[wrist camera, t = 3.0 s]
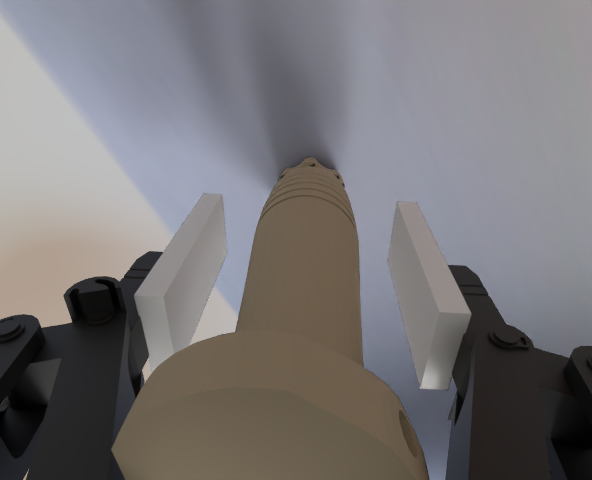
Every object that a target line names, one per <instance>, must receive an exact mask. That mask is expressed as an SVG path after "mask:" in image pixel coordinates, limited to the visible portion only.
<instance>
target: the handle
mask: <svg viewBox="0 0 592 480" xmlns="http://www.w3.org/2000/svg"><path fill="white" fill-rule="evenodd" d="M344 188H345V186H344V182H343V180H342V177H341V176H340V174H339V173H338V171H337V170H335V169H333V170H331V169H328V168H326V167H324V166H322V165H321V164H319V163H318V162H317V161H316V159H315V158H305V159H304V161H303V162H302V163H301V164H299V165H298V166H295V167H292V168H286V169H285V170H284V171H283V172H282V174H281V176H280V177H279V179H278V183H277V184H276V186H275V187H274V189H273V190H272V192H271V194H270V195H269V197H268V199H267V201H266V203H265V205H264V207H263V210H262V213H261V216H260V219H259V222H258V225H257V228H256V231H255V236H254V241H253V246H252V252H251V257H250V262H249V267H248V273H247V278H246V283H245V288H244V293H243V298H242V302H241V307H240V312H239V316H238V321H237V326H236V331H235V332H234V333H227V334H222V335H218V336H216V337H212V338H209V339H206V340H203V341H200V342H196V343H194V344H192V345H190V346H188V347H186V348H184V349H182V350H180V351H178V352H176V353H174V354H173V355H172V356H170V357H169V358H168V359H166V360H165V361H164V362H162V363H161V364H160V365H158V366H157V368H156V369H155V370H154V371H153V373H152V374H151V375H150V377H149V378H148V380H147V381H146V382H145V384H144V385H143V387H142V388H141V390H140V392H139V394H138V396H137V398H136V400H135V401H134V403H133V405H132V407H131V409H130V411H129V413H128V415H127V417H126V419H125V421H124V423H123V425H122V427H121V429H120V431H119V433H118V436H117V438H116V440H115V442H114V444H113V446H112V449H111V450H112V452H113V455H114V457H115V459H116V461H117V463H118V465H119V467H120V469H121V472H122V474H123V476H124V478H125V480H430V479H429V475H428V470H427V466H426V462H425V457H424V453H423V450H422V448H421V445H420V443H419V441H418V439H417V436H416V434H415V432H414V429H413V427H412V425H411V423H410V421H409V419H408V416H407V414H406V412H405V410H404V408H403V406H402V404H401V401H400V399H399V397H398V396H397V395H396V394H395V393H394V392H393V391H392V389H391V388H390V387H389V386H388V385H387V384H386V383H385V382H383V381H382V380H381V379H380V378H378V377H377V376H376V375H374V374H373V373H372V372H370V371H368V370H367V369H365V368H364V365H363V352H362V329H361V306H360V271H359V241H358V235H357V229H356V223H355V219H354V215H353V211H352V207H351V204H350V200H349V198H348V195H347V193H346V191H345V189H344Z"/></svg>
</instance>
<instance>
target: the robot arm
mask: <svg viewBox="0 0 592 480" xmlns="http://www.w3.org/2000/svg"><path fill="white" fill-rule="evenodd" d="M226 255H227V244H226V232H225V219H224V207H223V195H222V194H207V193H203V195H202V196H201V198H200V199H199V201H198V202H197V204H196V205H195V207H194V208H193V210H192V211H191V212H190V214H189V215H188V217H187V218H186V220H185V221H184V223H183V224H182V226H181V227H180V229H179V230H178V232H177V233H176V234H175V236H174V237H173V239H172V240H171V242H170V243H169V245H168V246H167V248H166V249H165V251H164V252H153V251H149V252H147V253H146V254H144V255H143V256H141V257H140V258H138V259H137V260H136V261H135V263H134V264H133V265H132V266H131V268H130V270H128V272H127V273H126V274H125V276H124V278H122V279H121V281H120V282H119V281H118V280H116V279H115V278H111V277H106V276H104V277H93V278H89V279H85V280H83V281H80V282H78V283H76V284H74V285H73V286H72V287H71V288H69V289H68V290H67V291H66V293H65V294H64V299H65V302H66V304H67V307H68V310H69V313H70V316H71V319H72V323H68V324H63V325H57V326H50V327H44V328H41V326H40V323H39V321H38V319H37V318H35V317H34V316H32V315H24V314H23V315H15V316H10V317H7V318H4V319H1V320H0V405H1V406H0V480H23V478H24V477H25V475H26V473H27V471H28V469H29V471H28V474H27V478H26V480H125V478H124V476H123V474H122V472H121V469H120V467H119V465H118V463H117V461H116V459H115V457H114V455H113V452H112V450H111V449H112V446H113V444H114V442H115V440H116V438H117V436H118V433H119V431H120V429H121V427H122V425H123V423H124V421H125V419H126V417H127V415H128V413H129V411H130V409H131V407H132V405H133V403H134V401H135V400H136V398H137V396H138V394H139V392H140V390H141V388H142V387H143V385H144V377H143V373H142V369H143V367H144V365H145V363H146V361H147V359H148V358H149V362H150V366H151V371H154V370H155V369H156V368H157V366H158V365H160V364H161V363H162V362H164V361H165V360H166V359H168V358H169V357H170V356H172V355H173V354H174V353H176V352H178V351H180V350H182V349H184V348H186V347H188V346H189V344H190V342H191V339H192V337H193V334H194V332H195V330H196V327H197V325H198V322H199V320H200V317H201V315H202V313H203V310H204V308H205V305H206V303H207V301H208V298H209V296H210V293H211V291H212V288H213V286H214V284H215V281H216V279H217V276H218V274H219V271H220V269H221V267H222V264H223V262H224V259H225V257H226ZM388 265H389V269H390V272H391V276H392V280H393V284H394V288H395V292H396V296H397V300H398V304H399V308H400V312H401V315H402V319H403V323H404V327H405V331H406V335H407V339H408V343H409V347H410V351H411V355H412V358H413V362H414V366H415V370H416V374H417V378H418V382H419V386H420V388H421V389H436V390H448V388H449V385H450V382H451V379H452V376H453V379H454V381H455V384H456V387H457V393H456V396H455V399H454V402H453V405H452V408H451V411H450V414H449V417H448V420H451V421H452V422H451V432H450V442H449V451H448V461H447V470H446V480H592V346H580V347H578V348H575V349H574V350H573V352H572V354H571V356H570V358H568V357H564V356H560V355H557V354H553V353H549V352H546V351H543V350H540V349H537V348H534V346H533V343H532V341H531V340H530V339H529V338H528V337H527V336H526V334H525V333H523V332H521V331H520V330H518V329H517V328H515V327H512V326H510V325H507V324H506V323H505V321H504V320H503V318H502V316H501V315H500V313H499V311H498V310H497V308H496V306H495V304H494V303H493V301H492V299H491V298H490V296H488V293H487V291H486V289H485V288H483V284H482V282H481V281H480V279H479V277H478V276H477V275H476V274H475V273H474V272H473V271H471V270H470V269H469V268H468V267H466V266H457V265H447V263H446V261H445V259H444V257H443V255H442V253H441V251H440V249H439V247H438V245H437V243H436V241H435V239H434V237H433V235H432V233H431V230H430V228H429V226H428V224H427V222H426V220H425V218H424V216H423V214H422V212H421V210H420V208H419V206H418V204H417V202H397V204H396V210H395V217H394V223H393V229H392V235H391V242H390V248H389V254H388ZM4 399H5V400H4ZM2 402H3V403H2ZM549 465H550V468H551V470H552V473H550V468H549Z"/></svg>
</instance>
